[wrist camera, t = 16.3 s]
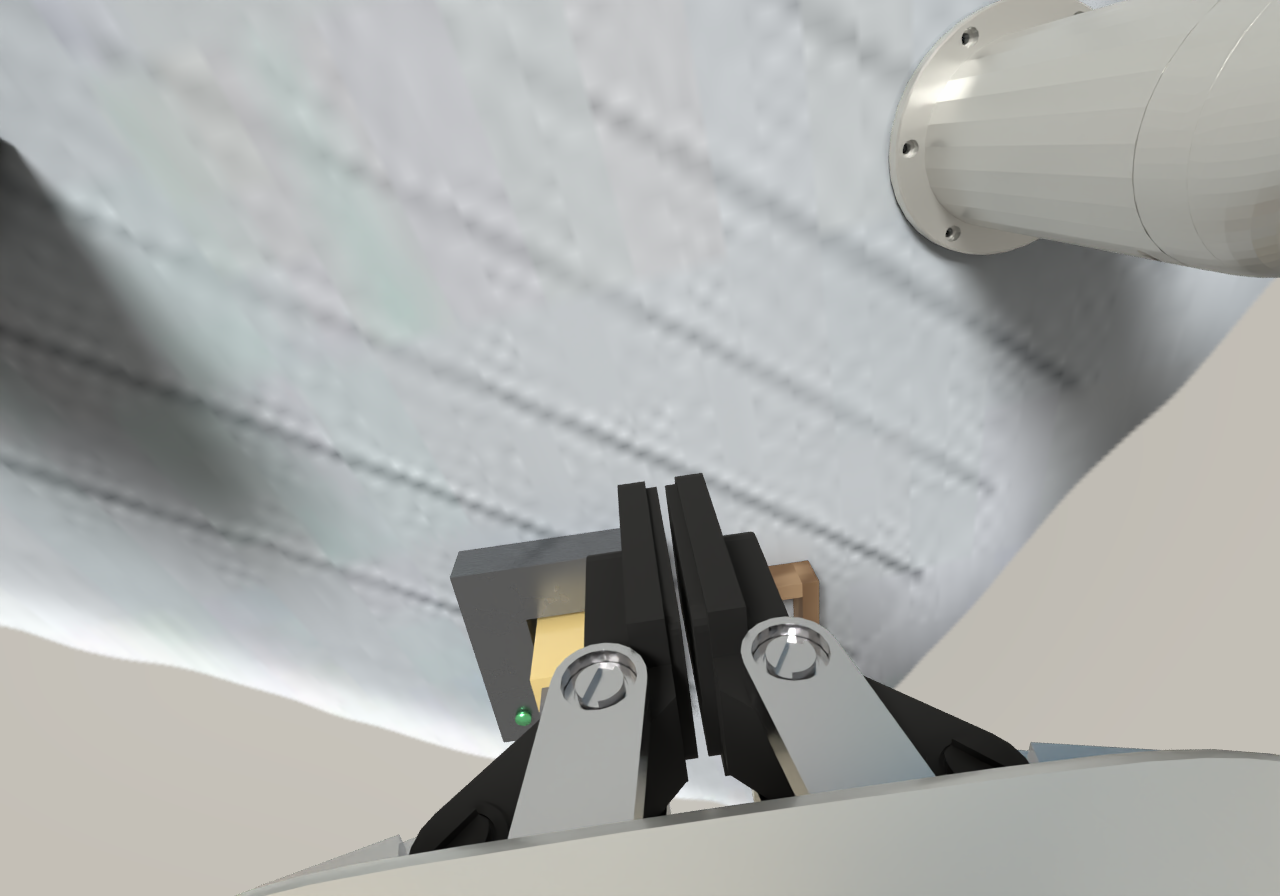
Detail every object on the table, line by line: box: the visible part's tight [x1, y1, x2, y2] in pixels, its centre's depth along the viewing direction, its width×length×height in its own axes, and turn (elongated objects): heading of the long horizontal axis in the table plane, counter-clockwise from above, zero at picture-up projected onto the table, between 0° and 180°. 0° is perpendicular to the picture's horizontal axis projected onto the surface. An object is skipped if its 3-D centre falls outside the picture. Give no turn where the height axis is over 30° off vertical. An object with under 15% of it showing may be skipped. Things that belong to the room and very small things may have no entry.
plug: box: [530, 611, 585, 718], centre depth 43 cm, size 4×6×10 cm
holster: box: [768, 561, 819, 624], centre depth 47 cm, size 8×10×2 cm
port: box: [450, 528, 622, 742], centre depth 46 cm, size 14×16×3 cm
